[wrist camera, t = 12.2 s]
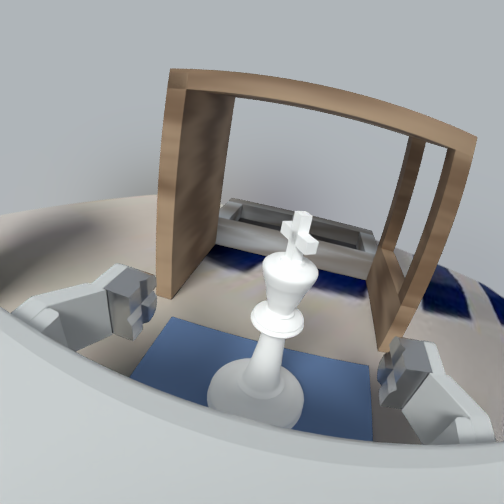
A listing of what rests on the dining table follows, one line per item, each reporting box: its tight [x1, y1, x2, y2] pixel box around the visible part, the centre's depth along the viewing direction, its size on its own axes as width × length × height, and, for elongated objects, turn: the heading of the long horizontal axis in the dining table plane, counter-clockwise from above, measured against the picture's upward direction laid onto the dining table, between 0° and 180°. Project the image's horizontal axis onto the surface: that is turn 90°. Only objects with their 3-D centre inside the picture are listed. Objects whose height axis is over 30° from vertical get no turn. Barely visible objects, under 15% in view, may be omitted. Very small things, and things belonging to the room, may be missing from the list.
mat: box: [129, 317, 373, 442], centre depth 15 cm, size 9×13×1 cm
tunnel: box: [156, 69, 477, 353], centre depth 25 cm, size 19×17×15 cm
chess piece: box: [207, 211, 319, 429], centre depth 12 cm, size 5×5×10 cm
